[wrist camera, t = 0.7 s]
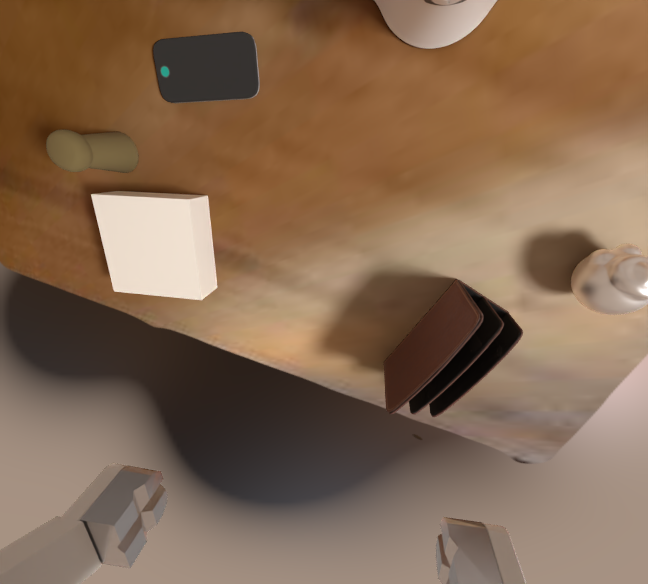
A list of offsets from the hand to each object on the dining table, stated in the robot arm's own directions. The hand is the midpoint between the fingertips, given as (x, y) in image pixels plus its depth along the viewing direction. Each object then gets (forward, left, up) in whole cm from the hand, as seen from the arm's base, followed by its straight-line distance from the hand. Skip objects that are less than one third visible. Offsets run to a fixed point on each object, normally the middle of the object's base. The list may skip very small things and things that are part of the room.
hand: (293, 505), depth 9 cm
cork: (-9, -39, -45) cm, 60 cm away
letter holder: (+19, +15, -45) cm, 50 cm away
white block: (+5, -33, -45) cm, 56 cm away
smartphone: (-20, -23, -45) cm, 54 cm away
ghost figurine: (+5, +34, -45) cm, 56 cm away
